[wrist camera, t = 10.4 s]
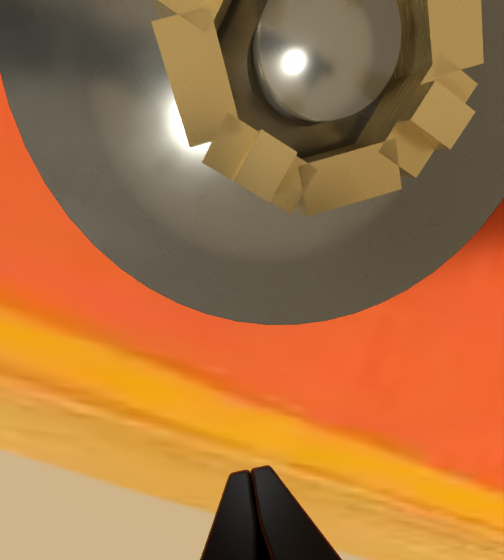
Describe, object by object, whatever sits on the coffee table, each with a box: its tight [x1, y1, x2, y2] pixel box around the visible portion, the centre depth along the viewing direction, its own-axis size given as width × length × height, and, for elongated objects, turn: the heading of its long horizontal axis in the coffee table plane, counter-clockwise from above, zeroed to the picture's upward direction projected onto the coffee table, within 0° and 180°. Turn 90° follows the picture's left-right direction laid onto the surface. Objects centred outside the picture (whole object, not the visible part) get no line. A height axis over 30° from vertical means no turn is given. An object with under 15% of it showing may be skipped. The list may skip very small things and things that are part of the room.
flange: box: [0, 0, 504, 325], centre depth 12 cm, size 20×20×4 cm
